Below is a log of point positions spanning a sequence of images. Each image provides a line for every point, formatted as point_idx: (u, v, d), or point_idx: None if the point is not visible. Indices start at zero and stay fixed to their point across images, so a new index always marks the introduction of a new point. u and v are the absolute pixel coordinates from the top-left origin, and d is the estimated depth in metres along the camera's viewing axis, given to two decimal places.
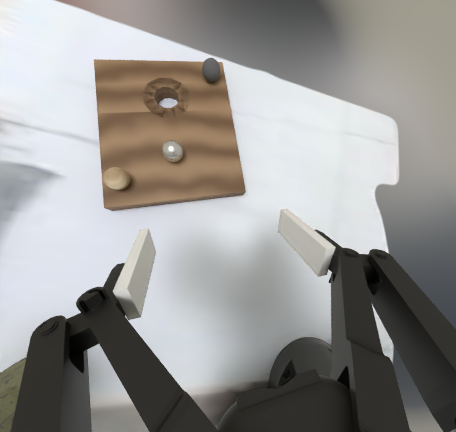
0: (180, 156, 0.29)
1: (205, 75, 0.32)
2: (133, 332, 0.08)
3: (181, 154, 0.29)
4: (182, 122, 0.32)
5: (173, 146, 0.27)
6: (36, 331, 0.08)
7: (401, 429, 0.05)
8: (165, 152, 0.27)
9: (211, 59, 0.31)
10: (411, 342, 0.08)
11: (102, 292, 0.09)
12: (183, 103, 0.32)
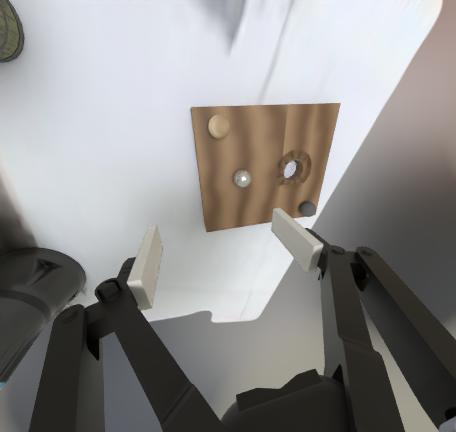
0: (237, 185, 0.33)
1: (304, 204, 0.39)
2: (145, 323, 0.08)
3: (238, 186, 0.33)
4: (269, 184, 0.36)
5: (244, 183, 0.31)
6: (58, 317, 0.08)
7: (395, 425, 0.05)
8: (240, 175, 0.31)
9: (314, 212, 0.38)
10: (400, 337, 0.08)
11: (118, 283, 0.09)
12: (286, 185, 0.37)
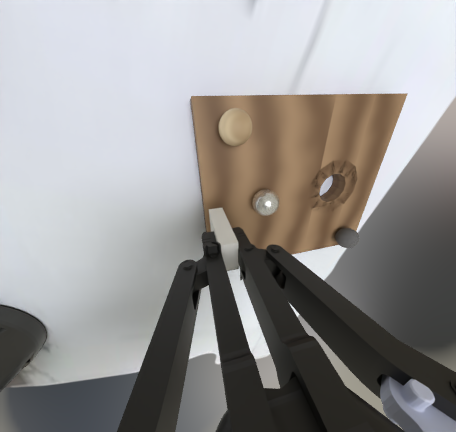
0: (257, 212, 0.23)
1: (343, 232, 0.29)
2: (229, 285, 0.10)
3: None
4: (299, 206, 0.26)
5: (270, 211, 0.21)
6: (181, 264, 0.11)
7: (351, 407, 0.05)
8: (264, 199, 0.21)
9: (357, 242, 0.28)
10: (326, 325, 0.09)
11: (218, 247, 0.12)
12: (320, 207, 0.27)
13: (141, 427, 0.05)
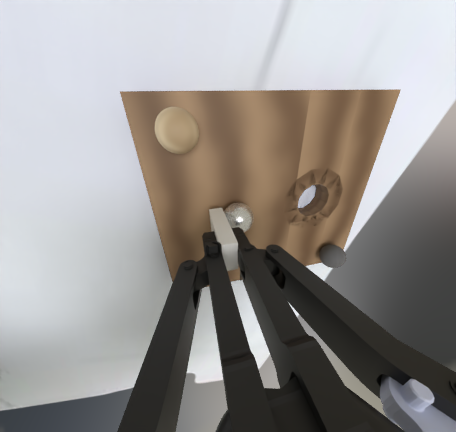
0: None
1: (327, 249, 0.25)
2: (229, 285, 0.10)
3: None
4: (274, 221, 0.23)
5: (248, 226, 0.18)
6: (182, 264, 0.11)
7: (351, 407, 0.05)
8: (240, 215, 0.17)
9: (343, 263, 0.25)
10: (326, 325, 0.09)
11: (219, 247, 0.12)
12: (300, 221, 0.24)
13: (141, 426, 0.05)
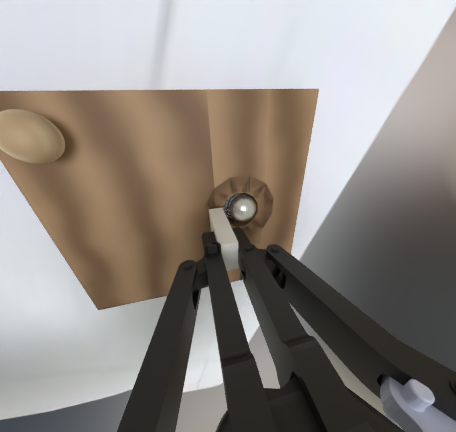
0: (250, 218, 0.21)
1: None
2: (229, 285, 0.10)
3: None
4: (199, 233, 0.21)
5: None
6: (181, 264, 0.11)
7: (351, 407, 0.05)
8: None
9: None
10: (326, 325, 0.09)
11: (219, 247, 0.12)
12: None
13: (141, 427, 0.05)
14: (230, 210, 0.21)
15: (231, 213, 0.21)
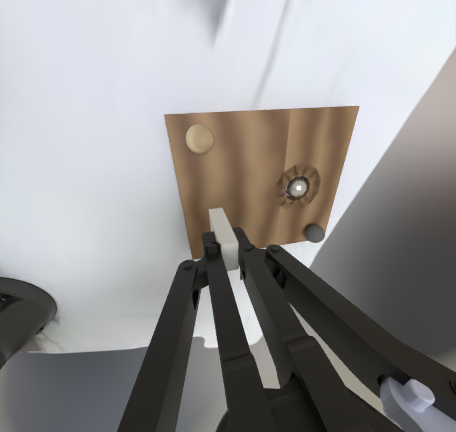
0: None
1: (310, 228, 0.32)
2: (229, 285, 0.10)
3: (301, 195, 0.30)
4: (268, 204, 0.30)
5: None
6: (181, 264, 0.11)
7: (351, 407, 0.05)
8: (305, 181, 0.30)
9: (322, 238, 0.32)
10: (326, 325, 0.09)
11: (219, 247, 0.12)
12: (288, 205, 0.31)
13: (141, 427, 0.05)
14: (288, 188, 0.30)
15: (288, 190, 0.30)
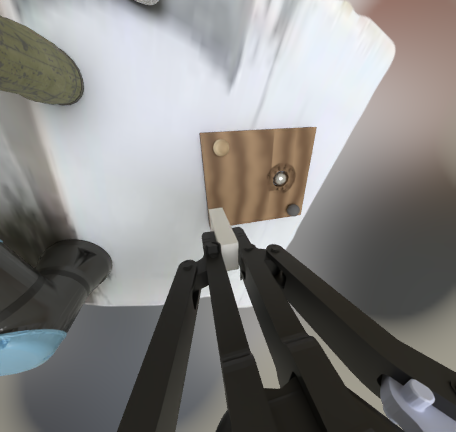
0: (283, 183, 0.45)
1: (290, 206, 0.48)
2: (229, 285, 0.10)
3: (282, 183, 0.46)
4: (261, 189, 0.45)
5: None
6: (181, 264, 0.11)
7: (351, 407, 0.05)
8: None
9: (297, 212, 0.47)
10: (326, 325, 0.09)
11: (219, 247, 0.12)
12: (275, 190, 0.46)
13: (141, 427, 0.05)
14: (273, 178, 0.45)
15: (274, 180, 0.45)
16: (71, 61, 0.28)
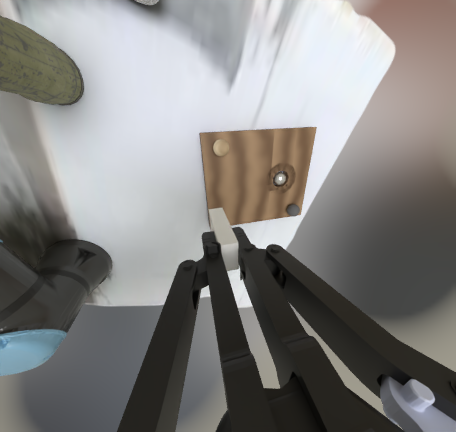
0: (282, 183, 0.45)
1: (290, 206, 0.48)
2: (229, 285, 0.10)
3: None
4: (261, 189, 0.45)
5: None
6: (181, 264, 0.11)
7: (351, 407, 0.05)
8: (284, 174, 0.45)
9: (297, 212, 0.47)
10: (326, 325, 0.09)
11: (219, 247, 0.12)
12: (275, 190, 0.46)
13: (141, 427, 0.05)
14: (273, 178, 0.45)
15: (273, 180, 0.45)
16: (71, 61, 0.28)
